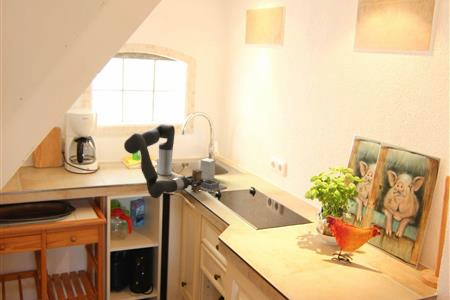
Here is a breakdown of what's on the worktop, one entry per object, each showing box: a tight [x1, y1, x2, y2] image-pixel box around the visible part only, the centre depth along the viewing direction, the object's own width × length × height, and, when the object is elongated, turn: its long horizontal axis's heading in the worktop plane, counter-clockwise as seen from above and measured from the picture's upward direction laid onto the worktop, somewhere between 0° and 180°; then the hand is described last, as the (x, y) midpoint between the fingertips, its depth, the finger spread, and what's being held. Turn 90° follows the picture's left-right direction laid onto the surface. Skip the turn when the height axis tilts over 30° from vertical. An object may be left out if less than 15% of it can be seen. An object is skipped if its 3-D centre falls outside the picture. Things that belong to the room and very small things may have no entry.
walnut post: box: [190, 168, 202, 192], centre depth 283 cm, size 4×4×13 cm
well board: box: [190, 179, 228, 193], centre depth 293 cm, size 16×16×3 cm
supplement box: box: [199, 157, 216, 180], centre depth 311 cm, size 7×7×13 cm
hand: (197, 179), depth 283 cm, fingers open, 8 cm apart
